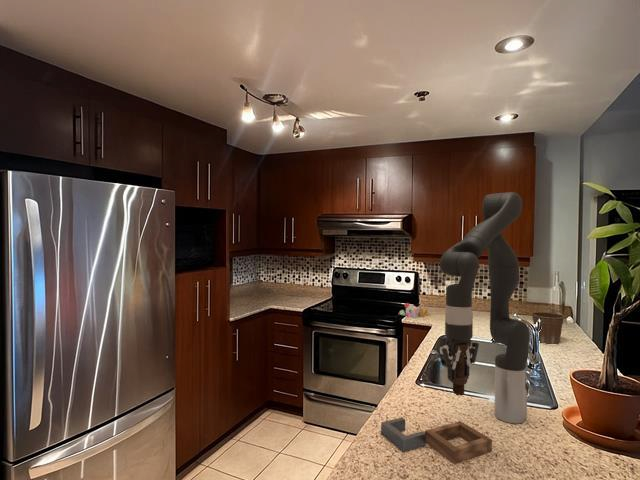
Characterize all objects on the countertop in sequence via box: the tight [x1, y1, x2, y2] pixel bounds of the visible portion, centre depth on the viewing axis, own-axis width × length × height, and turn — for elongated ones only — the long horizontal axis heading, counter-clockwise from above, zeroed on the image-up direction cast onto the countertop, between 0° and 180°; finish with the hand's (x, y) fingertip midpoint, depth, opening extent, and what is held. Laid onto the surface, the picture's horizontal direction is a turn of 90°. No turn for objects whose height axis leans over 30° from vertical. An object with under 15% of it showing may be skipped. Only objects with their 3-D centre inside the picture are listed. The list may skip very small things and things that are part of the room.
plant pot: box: [531, 311, 566, 345], centre depth 220 cm, size 16×16×16 cm
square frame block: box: [424, 420, 493, 465], centre depth 113 cm, size 14×12×4 cm
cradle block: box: [380, 416, 427, 453], centre depth 117 cm, size 8×11×4 cm
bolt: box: [450, 343, 469, 397], centre depth 113 cm, size 6×5×15 cm
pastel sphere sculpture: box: [399, 302, 431, 319], centre depth 289 cm, size 25×24×9 cm
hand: (458, 379), depth 113 cm, fingers closed on bolt, 4 cm apart
